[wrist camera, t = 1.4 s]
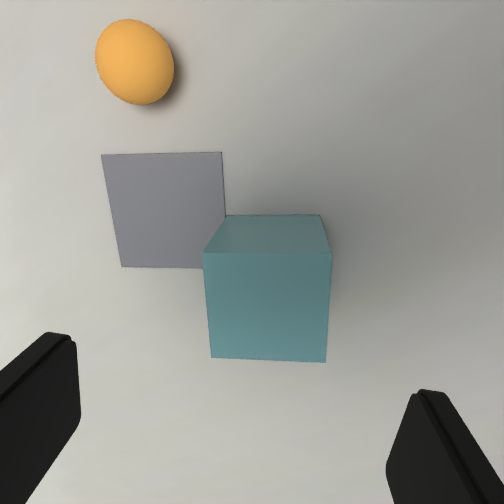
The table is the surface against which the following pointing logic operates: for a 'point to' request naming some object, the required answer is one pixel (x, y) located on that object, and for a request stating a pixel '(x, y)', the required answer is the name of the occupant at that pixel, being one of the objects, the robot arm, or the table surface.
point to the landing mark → (164, 206)
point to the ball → (134, 61)
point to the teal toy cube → (268, 288)
